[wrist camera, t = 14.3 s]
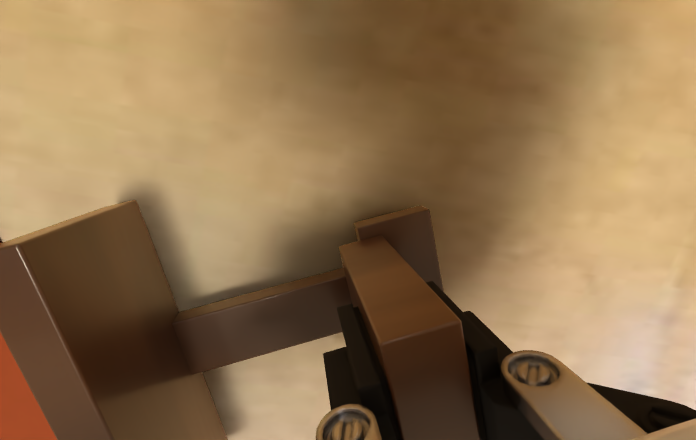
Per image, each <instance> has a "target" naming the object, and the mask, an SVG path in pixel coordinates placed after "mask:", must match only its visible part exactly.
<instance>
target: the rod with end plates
mask: <svg viewBox="0 0 696 440" xmlns="http://www.w3.org/2000/svg"><path fill="white" fill-rule="evenodd" d="M354 228H355V232H356V236H357V242H353V243H349V244H345V245H342V246H339V252H340V256H341V260H342V264H343V268H340V269H336V270H333V271H329V272H325V273H322V274H318V275H314V276H310V277H307V278H303V279H299V280H296V281H292V282H288V283H285V284H281V285H277V286H274V287H270V288H266V289H263V290H259V291H255V292H251V293H248V294H244V295H240V296H237V297H233V298H229V299H226V300H222V301H218V302H215V303H211V304H207V305H204V306H200V307H196V308H192V309H189V310H185V311H181V312H179V311H178V308H177V306H176V303H175V300H174V298H173V295H172V293H171V290H170V287H169V285H168V282H167V279H166V277H165V274H164V272H163V269H162V266H161V264H160V261H159V259H158V256H157V253H156V251H155V248H154V245H153V243H152V240H151V238H150V235H149V232H148V230H147V227H146V225H145V222H144V219H143V217H142V214H141V212H140V209H139V206H138V204H137V201H136V200H132V201H128V202H124V203H119V204H115V205H111V206H107V207H104V208H101V209H98V210H95V211H92V212H89V213H86V214H84V215H81V216H78V217H75V218H72V219H69V220H66V221H64V222H61V223H58V224H55V225H52V226H49V227H46V228H44V229H41V230H38V231H35V232H32V233H29V234H26V235H24V236H21V237H18V238H15V239H12V240H9V241H6V242H4V243H1V244H0V333H1V335H2V336H3V338H4V340H5V342H6V344H7V346H8V348H9V350H10V352H11V353H12V355H13V357H14V359H15V361H16V363H17V365H18V367H19V369H20V370H21V372H22V374H23V376H24V378H25V380H26V382H27V384H28V386H29V387H30V389H31V391H32V393H33V395H34V397H35V399H36V401H37V403H38V404H39V406H40V408H41V410H42V412H43V414H44V416H45V418H46V420H47V421H48V423H49V425H50V427H51V429H52V431H53V433H54V435H55V437H56V438H57V440H228V439H227V436H226V434H225V431H224V428H223V426H222V423H221V421H220V418H219V415H218V413H217V410H216V408H215V405H214V402H213V400H212V397H211V394H210V392H209V389H208V387H207V384H206V381H205V379H204V376H203V374H202V372H205V371H208V370H212V369H215V368H218V367H222V366H225V365H229V364H232V363H236V362H239V361H243V360H246V359H250V358H253V357H257V356H260V355H264V354H267V353H271V352H274V351H277V350H281V349H284V348H288V347H291V346H295V345H298V344H302V343H305V342H309V341H312V340H316V339H319V338H323V337H326V336H329V335H333V334H336V333H340V332H343V331H342V327H341V323H340V319H339V315H338V312H337V307H341V306H344V305H348V304H351V303H352V304H353V307H357V306H358V307H359V310H360V313H361V315H362V318H363V320H364V323H365V326H366V328H367V331H368V333H369V336H370V339H371V341H372V344H373V346H374V349H375V352H376V354H377V357H378V359H379V362H380V365H381V367H382V370H383V372H384V375H385V378H386V381H387V385H388V388H389V392H390V396H391V401H392V405H393V409H394V414H395V418H396V422H397V427H398V431H399V435H400V440H481V438H480V432H479V426H478V420H477V414H476V408H475V402H474V395H473V389H472V383H471V377H470V371H469V365H468V359H467V353H466V347H465V341H464V335H463V329H462V323H461V320H460V319H459V318H458V317H457V316H456V315H455V314H454V313H453V311H452V310H451V309H450V308H449V307H448V306H447V305H446V304H445V303H444V302H443V301H442V300H441V299H440V297H439V296H438V295H437V294H436V293H435V292H434V291H433V290H432V289H431V288H430V287H429V286H428V285H427V284H426V282H429V281H433V282H434V283H435V284H436V285H437V286H438V287H439V288H440V289H441V290H442V291H443V286H442V280H441V274H440V269H439V263H438V257H437V252H436V246H435V240H434V234H433V229H432V223H431V217H430V211H429V209H427V208H425V207H423V206H421V205H420V206H416V207H412V208H408V209H404V210H400V211H397V212H393V213H389V214H385V215H381V216H377V217H373V218H370V219H366V220H362V221H358V222H355V223H354Z"/></svg>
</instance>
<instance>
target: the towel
mask: <svg viewBox="0 0 696 440" xmlns="http://www.w3.org/2000/svg"><path fill="white" fill-rule="evenodd" d="M0 244H1V242H0ZM0 440H57V438H56V437H55V435H54V433H53V431H52V429H51V427H50V425H49V423H48V421H47V420H46V418H45V416H44V414H43V412H42V410H41V408H40V406H39V404H38V403H37V401H36V399H35V397H34V395H33V393H32V391H31V389H30V387H29V386H28V384H27V382H26V380H25V378H24V376H23V374H22V372H21V370H20V369H19V367H18V365H17V363H16V361H15V359H14V357H13V355H12V353H11V352H10V350H9V348H8V346H7V344H6V342H5V340H4V338H3V336H2V335H1V333H0Z"/></svg>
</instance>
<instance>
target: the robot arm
mask: <svg viewBox="0 0 696 440" xmlns="http://www.w3.org/2000/svg"><path fill="white" fill-rule="evenodd" d="M426 284H427V285H428V286H429V287H430V288H431V289H432V290H433V291H434V292H435V293H436V294H437V295H438V296H439V297H440V299H441V300H442V301H443V302H444V303H445V304H446V305H447V306H448V307H449V308H450V309H451V310H452V311H453V313H454V314H455V315H456V316H457V317H458V318H459V319H460V320H461V323H462V329H463V335H464V341H465V347H466V353H467V359H468V365H469V371H470V377H471V383H472V389H473V395H474V402H475V408H476V414H477V420H478V426H479V432H480V438H481V440H696V410H693V409H691V408H689V407H687V406H685V405H682V404H678V403H675V402H672V401H668V400H663V399H659V398H654V397H650V396H645V395H641V394H636V393H632V392H627V391H623V390H618V389H614V388H609V387H605V386H600V385H595V384H591V383H586V382H585V381H583V380H582V379H581V378H580V377H579V376H577V375H576V374H575V373H574V372H573V371H571V370H570V369H569V368H568V367H566V366H565V365H564V364H563V363H562V362H560V361H559V360H558V359H556V358H555V357H553V356H551V355H549V354H546V353H543V352H539V351H533V350H523V351H518V352H514V353H513V352H512V351H511V350H510V349H509V348H508V347H507V346H506V345H505V344H504V343H503V342H502V341H501V340H500V339H499V338H498V337H497V336H496V335H495V334H494V333H493V332H492V331H491V330H490V329H489V328H488V327H487V326H486V325H485V324H484V323H483V322H482V321H481V320H479V319H478V318H477V317H476V316H475V315H474V314H473V313H472V312H471V311H466V312H462V311H461V310H460V309H459V308H458V307H457V306H456V305H455V304H454V303H453V301H452V300H451V299H450V298H449V297H448V296H447V295H446V294H445V293H444V292H443V291H442V290H441V289H440V288H439V287H438V286H437V285H436V284H435V283H434V282H433V281H429V282H426ZM337 312H338V315H339V319H340V323H341V327H342V331H343V335H344V339H345V342H346V346H347V347H343V348H340V349H337V350H333V351H330V352H326V353H323V356H324V364H325V371H326V378H327V385H328V392H329V399H330V406H331V411H330V412H329V413H328V414H326V415H325V416H324V418H323V419H322V420H321V421H320V423H319V425H318V428H317V432H316V440H400V435H399V431H398V427H397V422H396V418H395V414H394V409H393V405H392V401H391V396H390V392H389V388H388V385H387V381H386V378H385V375H384V372H383V370H382V367H381V365H380V362H379V359H378V357H377V354H376V352H375V349H374V346H373V344H372V341H371V339H370V336H369V333H368V331H367V328H366V326H365V323H364V320H363V318H362V315H361V313H360V310H359V307H358V306H357V307H353V304H352V303H351V304H348V305H344V306H341V307H337Z"/></svg>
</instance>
